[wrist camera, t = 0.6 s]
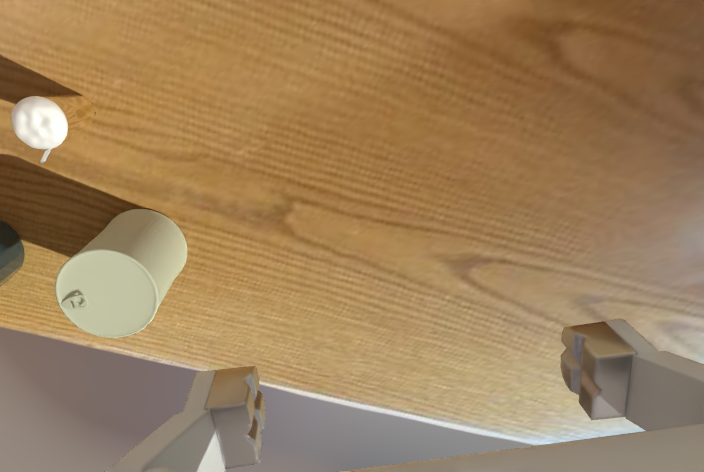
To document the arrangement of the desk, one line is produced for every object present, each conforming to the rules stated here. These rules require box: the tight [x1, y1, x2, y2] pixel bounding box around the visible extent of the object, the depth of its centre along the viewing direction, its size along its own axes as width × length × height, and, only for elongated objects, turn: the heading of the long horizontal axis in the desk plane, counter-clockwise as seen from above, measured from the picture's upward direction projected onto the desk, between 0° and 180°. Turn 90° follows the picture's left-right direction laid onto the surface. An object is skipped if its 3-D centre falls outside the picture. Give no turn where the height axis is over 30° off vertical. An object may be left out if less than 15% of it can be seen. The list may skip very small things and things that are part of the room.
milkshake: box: [11, 94, 96, 163], centre depth 48 cm, size 4×5×10 cm
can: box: [55, 209, 187, 338], centre depth 53 cm, size 9×9×12 cm
